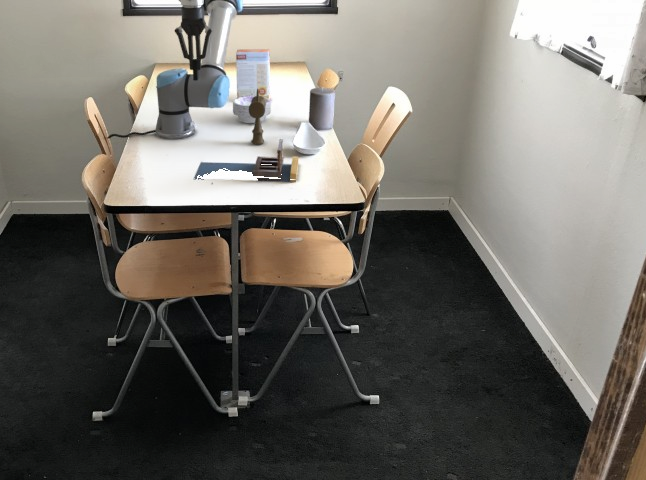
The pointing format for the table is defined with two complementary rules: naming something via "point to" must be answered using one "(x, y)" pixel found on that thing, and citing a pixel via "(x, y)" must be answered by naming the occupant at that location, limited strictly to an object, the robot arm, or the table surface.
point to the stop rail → (294, 169)
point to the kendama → (257, 117)
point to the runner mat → (249, 167)
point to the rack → (273, 169)
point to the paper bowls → (242, 109)
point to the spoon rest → (308, 139)
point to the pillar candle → (321, 108)
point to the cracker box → (253, 72)
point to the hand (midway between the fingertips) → (196, 79)
